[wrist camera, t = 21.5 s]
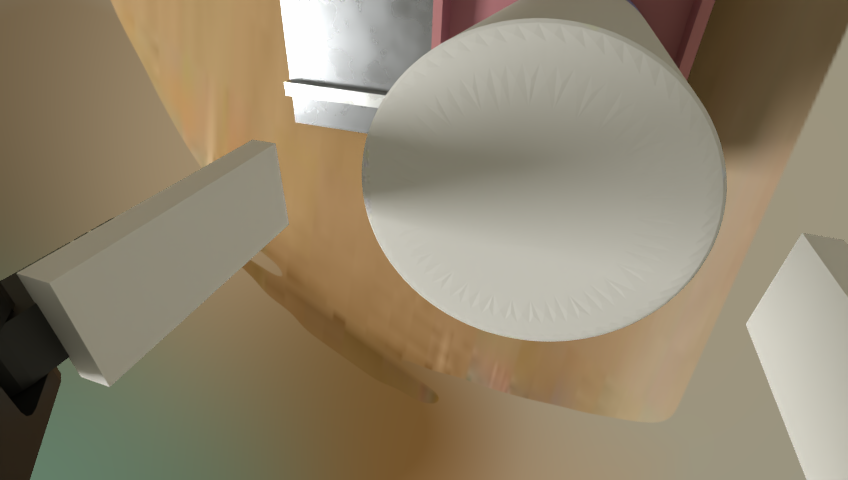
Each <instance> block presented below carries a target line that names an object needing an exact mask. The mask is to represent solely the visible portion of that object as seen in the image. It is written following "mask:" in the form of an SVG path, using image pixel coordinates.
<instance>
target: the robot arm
mask: <svg viewBox="0 0 848 480" xmlns="http://www.w3.org/2000/svg"><path fill="white" fill-rule="evenodd" d="M288 225H289V222H288V216H287V210H286V204H285V198H284V192H283V186H282V180H281V174H280V168H279V162H278V156H277V150H276V144H275V143H270V142H264V141H258V140H251V141H249V142H248V143H246V144H244V145H242V146H241V147H239V148H237V149H235V150H233V151H232V152H230V153H228V154H226V155H225V156H223V157H221V158H219V159H217V160H216V161H214V162H212V163H210V164H209V165H207V166H205V167H203V168H202V169H200V170H198V171H197V172H195V173H193V174H191V175H189V176H188V177H186V178H184V179H182V180H180V181H179V182H177V183H175V184H173V185H172V186H170V187H168V188H166V189H165V190H163V191H161V192H159V193H157V194H156V195H154V196H152V197H150V198H149V199H147V200H145V201H143V202H141V203H140V204H138V205H136V206H134V207H133V208H131V209H129V210H127V211H126V212H124V213H122V214H120V215H118V216H117V217H115V218H112V219H110V220H108V221H106V222H105V223H103V224H101V225H99V226H97V227H96V228H94V229H92V230H91V231H90V232H88V233H85V234H83V235H82V236H80V237H78V238H76V239H74V241H73V242H69V243H67V244H65V245H64V246H62V247H60V248H58V249H57V250H55V251H53V252H51V253H50V254H48V255H46V256H44V257H42V258H41V259H39V260H37V261H35V262H34V263H32V264H30V265H28V266H26V267H25V268H23V269H21V270H19V271H18V272H16V273H14V274H12V275H10V276H9V277H7V278H5V279H3V280H1V281H0V480H30V477H31V474H32V471H33V468H34V465H35V461H36V458H37V455H38V452H39V449H40V446H41V443H42V439H43V436H44V433H45V430H46V427H47V424H48V421H49V417H50V414H51V411H52V408H53V405H54V402H55V398H56V395H57V392H58V389H59V386H60V383H61V373H60V372H59V370H58V368H57V366H58V365H59V364H60V363H61V362H63V361H64V360H65V359H67V358H68V357H69V358H70V360H71V361H72V363H73V365H74V366H75V368H76V369H77V371H78V373H79V374H80V376H81V377H83V378H86V379H89V380H92V381H94V382H97V383H100V384H103V385H106V386H108V387H110V386H111V385H112V384H113V383H114V382H116V381H117V380H118V379H119V378H120V377H121V376H122V375H123V374H124V373H125V372H127V371H128V370H129V369H130V368H131V367H132V366H133V365H134V364H135V363H136V362H137V361H139V360H140V359H141V358H142V357H143V356H144V355H145V354H147V353H148V352H149V351H150V350H151V349H152V348H153V347H154V346H155V345H157V343H159V342H160V341H161V340H162V339H163V338H164V337H165V336H166V335H167V334H168V333H170V332H171V331H172V330H173V329H174V328H175V327H176V326H177V325H178V324H180V323H181V322H182V321H183V320H184V319H185V318H186V317H187V316H188V315H190V314H191V313H192V312H193V311H194V310H195V309H196V308H197V307H198V306H199V305H201V304H202V303H203V302H204V301H205V300H206V299H207V298H208V297H209V296H210V295H212V294H213V293H214V292H215V291H216V290H217V289H218V288H219V287H220V286H222V285H223V284H224V283H225V282H226V281H227V280H228V279H229V278H230V277H231V276H233V275H234V274H235V273H236V272H237V271H238V270H239V269H240V268H241V267H243V266H244V265H245V264H246V263H247V262H248V261H249V260H250V259H251V258H252V257H254V256H255V255H256V254H257V253H258V252H259V251H260V250H261V249H262V248H264V247H265V246H266V245H267V244H268V243H269V242H270V241H271V240H272V239H273V238H275V237H276V236H277V235H278V234H279V233H280V232H281V231H282V230H283V229H284V228H286V227H287V226H288ZM746 326H747V328H748V331H749V334H750V336H751V339H752V341H753V344H754V346H755V349H756V351H757V354H758V356H759V359H760V362H761V364H762V367H763V369H764V372H765V375H766V377H767V380H768V382H769V385H770V387H771V390H772V392H773V395H774V397H775V400H776V403H777V405H778V408H779V410H780V413H781V415H782V418H783V420H784V423H785V426H786V428H787V431H788V433H789V436H790V439H791V441H792V443H793V446H794V449H795V451H796V454H797V456H798V459H799V462H800V464H801V467H802V469H803V472H804V474H805V477H806V479H807V480H848V244H847V243H846V242H845V241H844V240H841V239H835V238H829V237H823V236H817V235H811V234H806V233H802V234H801V236H800V237H799V239H798V241H797V242H796V244H795V245H794V247H793V249H792V250H791V252H790V254H789V255H788V257H787V258H786V260H785V262H784V263H783V265H782V267H781V268H780V270H779V271H778V273H777V275H776V276H775V278H774V279H773V281H772V283H771V284H770V286H769V288H768V289H767V291H766V293H765V294H764V296H763V298H762V299H761V301H760V302H759V304H758V305H757V307H756V309H755V310H754V312H753V313H752V315H751V317H750V318H749V320H748V322H747V323H746Z"/></svg>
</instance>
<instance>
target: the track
mask: <svg viewBox="0 0 848 480" xmlns="http://www.w3.org/2000/svg"><path fill="white" fill-rule="evenodd" d="M280 3H281V11H282V19H283V27H284V35H285V43H286V50H287V58H288V66H289V74H290V80H288V81H286V82H284V84H285V91H286V95H288V96H292V97H293V105H294V113H295V121H296V122H297V123H303V124H310V125H316V126H323V127H329V128H336V129H342V130H348V131H355V132H361V133H368V132H369V129H370V126H371V123H372V121H373V118H374V116H375V114H376V112H377V110H378V108H379V106H380V104H381V102H382V101H383V99H384V98H385V96H386V94H387V93H388V92H389V90H390V89H391V87H392V86H393V85H394V84H395V82H396V81H397V80H398V79H399V78H400V76H401V75H402V74H403V73H404V72H405V71H406V70H407V69H408V68H409V67H410V66H411V65H412V64H414V63H415V62H416V61H417V60H418V59H420V58H421V57H422V56H423V55H425V54H426V53H428V52H429V51H430V50H431V43H432V19H433V0H280Z"/></svg>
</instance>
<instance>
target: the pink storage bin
mask: <svg viewBox="0 0 848 480" xmlns="http://www.w3.org/2000/svg"><path fill="white" fill-rule="evenodd" d="M516 1H518V0H433V19H432V43H431V50H432V49H433V48H435V47H437V46H438V45H440V44H441V43H443V42H445V41H447V40H449V39H450V38H452V37H454V36H456V35H457V34H459V33H461V32H463V31H465V30H466V29H468V28H470V27H472V26H473V25H475V24H477V23H479V22H481V21H482V20H484V19H486V18H488V17H489V16H491V15H493V14H495V13H497V12H498V11H500V10H502V9H504V8H506V7H507V6H509V5H511V4H513V3H514V2H516ZM631 1H632V2H633V3H634V5H635V6H636V7H637V8H638V10H639V11H640V13H641V14H642V16H643V17H644V19H645V20H646V22H647V23H648V24H649V26H650V27H651V29H652V30H653V32H654V33H655V35H656V36H657V38H658V39H659V41H660V42H661V44H662V45H663V46H664V48H665V49H666V51H667V52H668V54H669V55H670V57H671V58H672V60H673V61H674V63H675V64H676V66H677V67H678V69H679V70H680V71H681V73H682V74H683V76H684V77H685V79H686V80H687V79H688V76H689V74H690V71H691V68H692V65H693V62H694V59H695V57H696V54H697V51H698V48H699V45H700V42H701V40H702V37H703V34H704V31H705V28H706V25H707V23H708V20H709V17H710V14H711V11H712V8H713V6H714V3H715V0H631Z"/></svg>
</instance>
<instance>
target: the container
mask: <svg viewBox="0 0 848 480" xmlns="http://www.w3.org/2000/svg"><path fill="white" fill-rule="evenodd" d="M362 187H363V196H364V202H365V207H366V211H367V215H368V218H369V221H370V224H371V227H372V229H373V232H374V234H375V236H376V238H377V241H378V242H379V244H380V246H381V248H382V250H383V252H384V253H385V255H386V256H387V258H388V259H389V261H390V262H391V264H392V265H393V266H394V268H395V269H396V270H397V272H398V273H399V274H400V275H401V276H402V277H403V279H404V280H405V281H406V282H407V283H408V284H409V285H410V286H411V287H412V288H413V289H414V290H415V291H417V292H418V293H419V294H420V295H421V296H422V297H424V298H425V299H426V300H427V301H429V302H430V303H431V304H433V305H434V306H436V307H437V308H439V309H440V310H442V311H443V312H445V313H447V314H448V315H450V316H452V317H454V318H456V319H458V320H460V321H462V322H464V323H466V324H468V325H471V326H473V327H476V328H478V329H481V330H484V331H487V332H490V333H493V334H497V335H501V336H505V337H510V338H515V339H522V340H530V341H570V340H578V339H585V338H590V337H594V336H599V335H603V334H606V333H609V332H613V331H616V330H618V329H621V328H624V327H626V326H628V325H631V324H633V323H635V322H637V321H639V320H641V319H643V318H645V317H646V316H648V315H650V314H651V313H653V312H655V311H656V310H658V309H659V308H661V307H662V306H663V305H665V304H666V303H667V302H669V301H670V300H671V299H672V298H673V297H675V296H676V295H677V294H678V293H679V292H680V291H681V290H682V289H683V288H684V287H685V286H686V285H687V284H688V283H689V282H690V280H691V279H692V278H693V277H694V276H695V274H696V273H697V272H698V270H699V269H700V268H701V266H702V265H703V263H704V261H705V260H706V258H707V256H708V255H709V253H710V251H711V249H712V247H713V245H714V243H715V240H716V238H717V235H718V233H719V229H720V226H721V223H722V219H723V215H724V210H725V203H726V192H727V179H726V167H725V160H724V155H723V150H722V147H721V143H720V140H719V137H718V134H717V132H716V129H715V127H714V124H713V122H712V120H711V118H710V116H709V114H708V112H707V110H706V109H705V107H704V105H703V104H702V102H701V101H700V99H699V98H698V96H697V95H696V93H695V92H694V91H693V89H692V88H691V86H690V85H689V83H688V82H687V80H686V79H685V77H684V76H683V74H682V73H681V71H680V70H679V69H678V67H677V66H676V64H675V63H674V61H673V60H672V58H671V57H670V55H669V54H668V52H667V51H666V49H665V48H664V46H663V45H662V44H661V42H660V41H659V39H658V38H657V36H656V35H655V33H654V32H653V30H652V29H651V27H650V26H649V24H648V23H647V22H646V20H645V19H644V17H643V16H642V14H641V13H640V11H639V10H638V8H637V7H636V6H635V5H634V3H633V2H632V1H631V0H518V1H516V2H514V3H513V4H511V5H509V6H507V7H506V8H504V9H502V10H500V11H498V12H497V13H495V14H493V15H491V16H489V17H488V18H486V19H484V20H482V21H481V22H479V23H477V24H475V25H473V26H472V27H470V28H468V29H466V30H465V31H463V32H461V33H459V34H457V35H456V36H454V37H452V38H450V39H449V40H447V41H445V42H443V43H441V44H440V45H438V46H437V47H435V48H433V49H432V50H430V51H429V52H428V53H426V54H425V55H423V56H422V57H421V58H420V59H418V60H417V61H416V62H415V63H414V64H412V65H411V66H410V67H409V68H408V69H407V70H406V71H405V72H404V73H403V74H402V75H401V76H400V78H399V79H398V80H397V81H396V82H395V84H394V85H393V86H392V87H391V89H390V90H389V92H388V93H387V94H386V96H385V98H384V99H383V101H382V102H381V104H380V106H379V108H378V110H377V112H376V114H375V116H374V118H373V121H372V123H371V126H370V129H369V132H368V135H367V139H366V143H365V148H364V154H363V162H362Z"/></svg>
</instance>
